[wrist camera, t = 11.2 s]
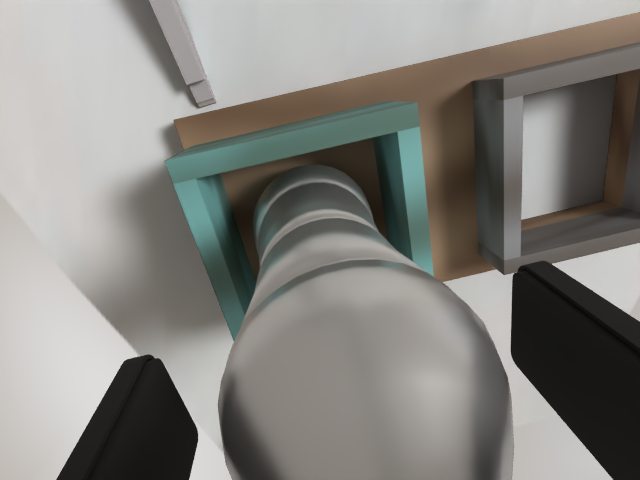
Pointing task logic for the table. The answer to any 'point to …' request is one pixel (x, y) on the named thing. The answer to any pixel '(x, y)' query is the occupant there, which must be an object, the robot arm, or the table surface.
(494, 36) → the table surface
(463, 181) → the sorting tray
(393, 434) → the metal bottle
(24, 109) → the table surface
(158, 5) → the caliper
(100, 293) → the table surface
